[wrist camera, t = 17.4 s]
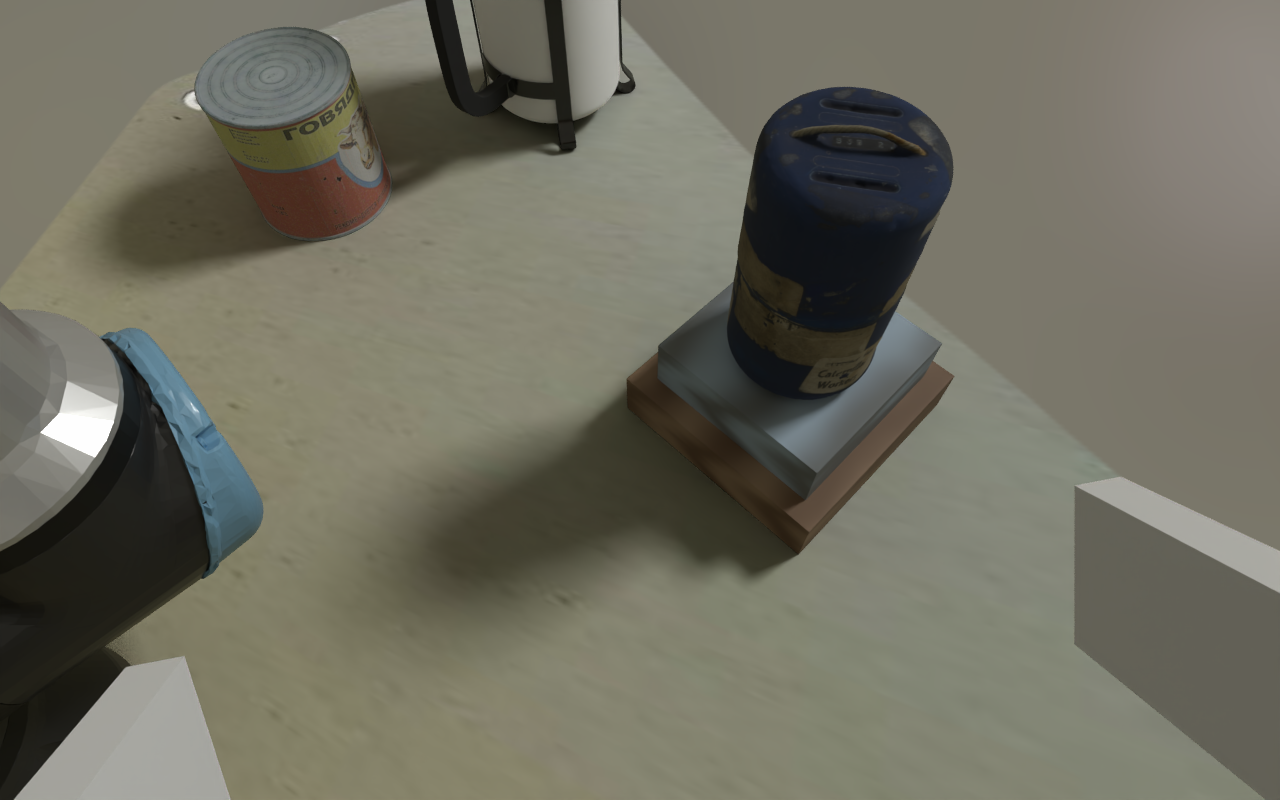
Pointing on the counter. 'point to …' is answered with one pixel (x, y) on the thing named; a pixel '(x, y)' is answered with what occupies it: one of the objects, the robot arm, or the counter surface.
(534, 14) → the coffee press
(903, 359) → the metal-topped wooden base
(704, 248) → the counter surface
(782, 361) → the canister
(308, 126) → the canned food
